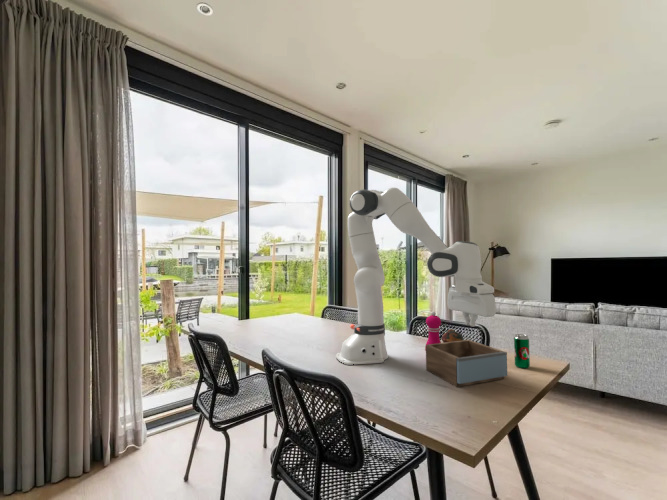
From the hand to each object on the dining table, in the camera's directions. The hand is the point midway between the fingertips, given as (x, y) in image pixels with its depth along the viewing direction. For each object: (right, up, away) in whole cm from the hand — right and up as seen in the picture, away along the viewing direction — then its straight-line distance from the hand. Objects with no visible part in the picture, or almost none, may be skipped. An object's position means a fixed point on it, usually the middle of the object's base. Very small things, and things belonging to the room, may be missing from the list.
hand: (470, 325), depth 115 cm
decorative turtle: (+7, -19, +36) cm, 41 cm away
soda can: (+24, -18, +10) cm, 32 cm away
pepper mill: (-7, -19, +20) cm, 28 cm away
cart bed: (-1, -18, +3) cm, 19 cm away
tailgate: (+2, -17, -5) cm, 17 cm away
